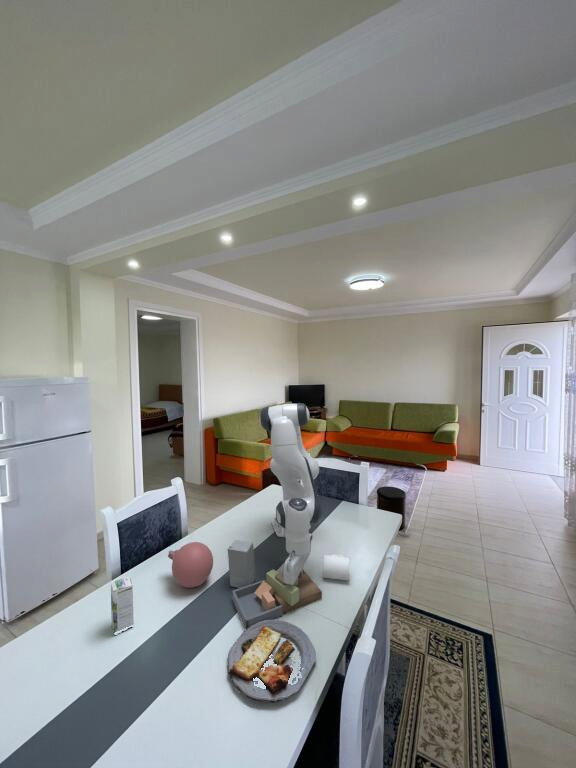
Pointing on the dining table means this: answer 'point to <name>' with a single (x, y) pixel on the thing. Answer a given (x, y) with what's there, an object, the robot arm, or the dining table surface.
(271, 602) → the tile
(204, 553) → the balloon
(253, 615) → the tray
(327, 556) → the mug
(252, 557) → the skincare box
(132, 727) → the dining table surface
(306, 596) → the brown flat block
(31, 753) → the dining table surface
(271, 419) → the robot arm
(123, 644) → the dining table surface
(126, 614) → the syrup box
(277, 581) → the green bar
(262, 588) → the tile
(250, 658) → the food plate
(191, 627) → the dining table surface
